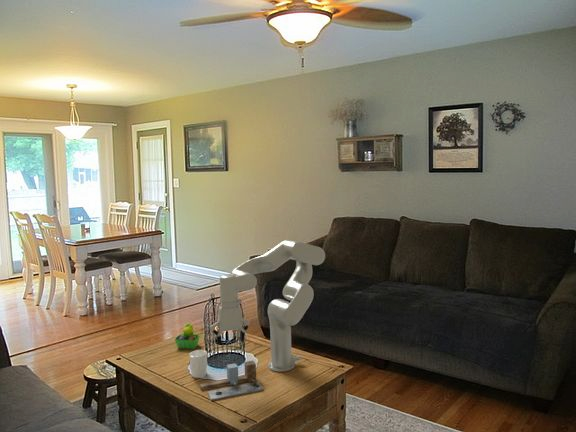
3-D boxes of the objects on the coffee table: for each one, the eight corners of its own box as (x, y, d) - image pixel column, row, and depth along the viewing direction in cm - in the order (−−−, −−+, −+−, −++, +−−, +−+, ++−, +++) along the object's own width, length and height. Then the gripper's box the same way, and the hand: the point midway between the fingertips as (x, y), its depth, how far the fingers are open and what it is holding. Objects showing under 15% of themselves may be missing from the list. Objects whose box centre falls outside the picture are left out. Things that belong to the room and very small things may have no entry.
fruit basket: (174, 349, 245) (173, 327, 243) (181, 342, 253) (180, 322, 252) (195, 349, 243) (194, 328, 242) (201, 343, 252) (200, 322, 250)
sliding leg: (235, 378, 209) (235, 363, 208) (240, 385, 202) (239, 369, 201) (227, 380, 207) (226, 364, 206) (230, 387, 201) (230, 370, 200)
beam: (253, 376, 211) (252, 360, 211) (258, 382, 205) (257, 366, 204) (199, 386, 203) (198, 369, 202) (202, 393, 197) (201, 376, 196)
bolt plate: (258, 383, 205) (258, 381, 204) (263, 390, 198) (263, 388, 198) (207, 393, 197) (207, 391, 197) (211, 401, 190) (211, 398, 190)
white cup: (204, 379, 210) (203, 357, 209) (187, 377, 211) (186, 356, 210) (210, 371, 217) (209, 350, 216) (194, 370, 219) (193, 349, 218)
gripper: (246, 298, 208) (248, 336, 210) (207, 303, 202) (209, 342, 204) (251, 303, 201) (253, 342, 203) (211, 308, 195) (212, 349, 197)
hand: (231, 342), depth 204 cm, fingers open, 9 cm apart
